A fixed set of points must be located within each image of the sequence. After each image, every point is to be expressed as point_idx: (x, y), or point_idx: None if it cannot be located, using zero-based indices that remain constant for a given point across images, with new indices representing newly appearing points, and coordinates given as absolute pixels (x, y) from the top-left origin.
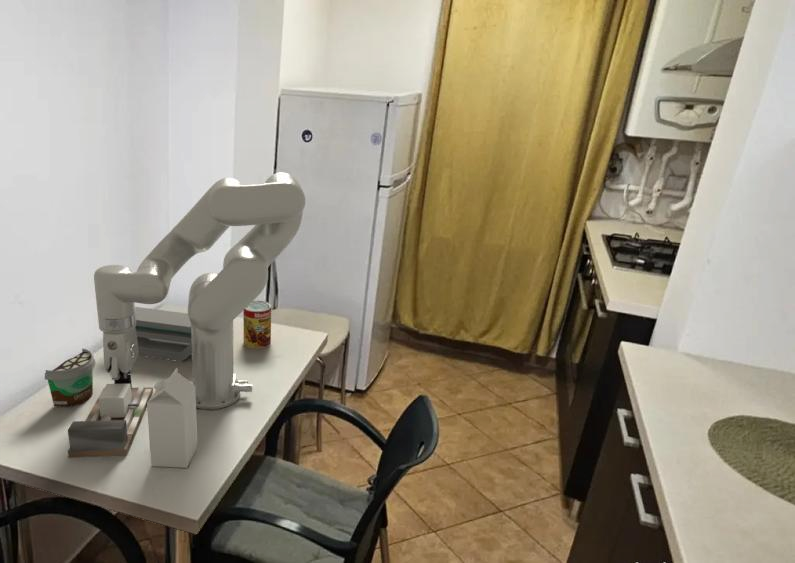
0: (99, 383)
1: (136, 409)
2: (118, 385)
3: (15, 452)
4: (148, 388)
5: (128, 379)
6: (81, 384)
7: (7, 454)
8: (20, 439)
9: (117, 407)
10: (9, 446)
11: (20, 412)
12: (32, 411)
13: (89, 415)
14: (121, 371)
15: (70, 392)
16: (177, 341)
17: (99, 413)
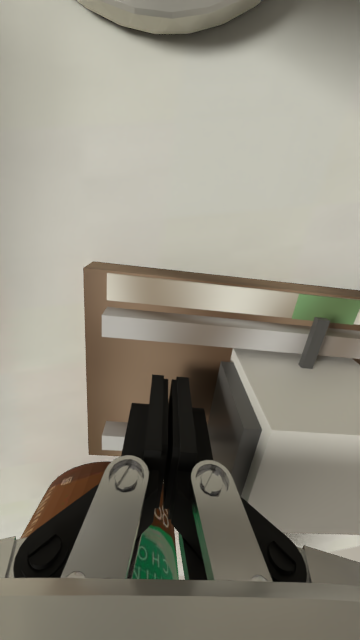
0: (23, 457)
1: (290, 320)
2: (277, 484)
3: (351, 538)
4: (96, 288)
5: (196, 445)
6: (152, 564)
7: (352, 546)
8: (301, 542)
9: None
10: (322, 550)
11: (181, 565)
12: (180, 550)
13: None
14: (139, 525)
15: (173, 556)
16: None
17: None
